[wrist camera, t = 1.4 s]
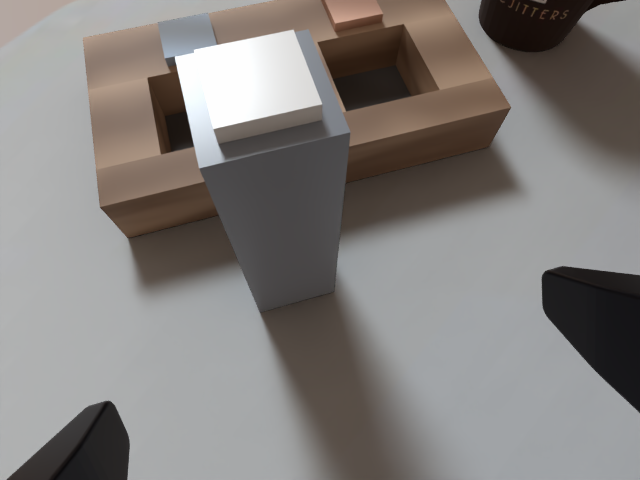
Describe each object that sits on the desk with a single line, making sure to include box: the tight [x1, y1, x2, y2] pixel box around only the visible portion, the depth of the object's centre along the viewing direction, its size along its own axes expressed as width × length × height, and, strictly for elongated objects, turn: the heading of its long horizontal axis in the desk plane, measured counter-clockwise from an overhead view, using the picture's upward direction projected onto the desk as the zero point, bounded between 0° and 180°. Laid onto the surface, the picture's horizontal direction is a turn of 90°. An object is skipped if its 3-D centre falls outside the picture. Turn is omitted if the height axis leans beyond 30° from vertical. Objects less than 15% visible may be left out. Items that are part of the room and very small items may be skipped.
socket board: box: [83, 0, 511, 238], centre depth 27 cm, size 12×22×4 cm, turn 107°
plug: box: [175, 29, 351, 312], centre depth 18 cm, size 4×4×14 cm
